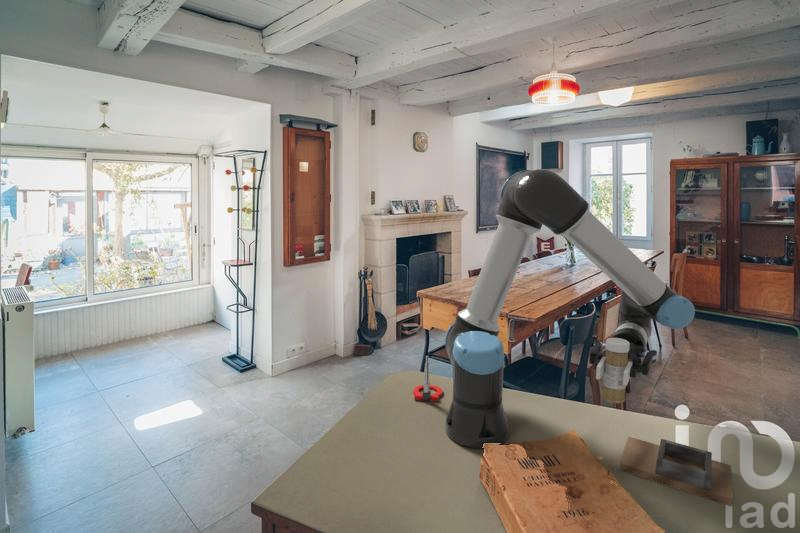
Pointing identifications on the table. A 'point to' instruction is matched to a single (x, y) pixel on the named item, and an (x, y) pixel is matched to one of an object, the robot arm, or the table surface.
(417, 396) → the tow hook
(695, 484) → the cup bracket
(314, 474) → the table surface
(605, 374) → the sprinkles bottle
